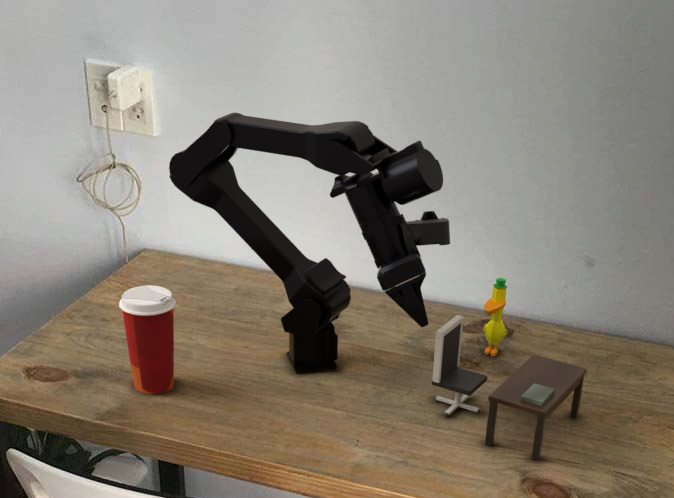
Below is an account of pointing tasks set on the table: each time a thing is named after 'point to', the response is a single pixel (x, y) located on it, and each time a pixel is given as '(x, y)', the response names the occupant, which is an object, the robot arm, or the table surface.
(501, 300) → the toy figure
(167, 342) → the paper cup
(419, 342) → the table surface
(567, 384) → the desk
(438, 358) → the white black boxy frame
